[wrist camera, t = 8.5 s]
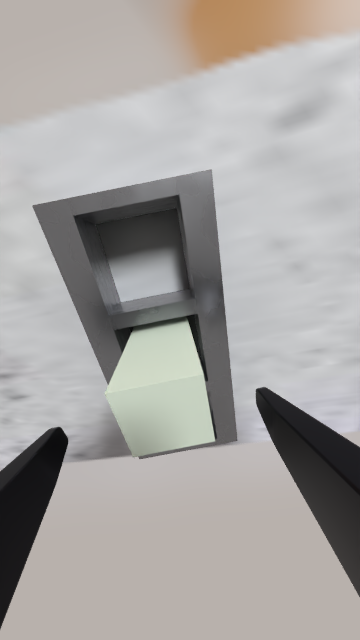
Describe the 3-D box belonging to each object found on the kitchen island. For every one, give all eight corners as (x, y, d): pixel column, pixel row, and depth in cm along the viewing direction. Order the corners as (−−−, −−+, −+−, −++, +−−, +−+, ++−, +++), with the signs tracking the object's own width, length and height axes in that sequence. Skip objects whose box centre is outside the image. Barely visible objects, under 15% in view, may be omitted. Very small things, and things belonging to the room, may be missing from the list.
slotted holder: (227, 412, 19) (237, 440, 16) (143, 428, 19) (139, 459, 16) (200, 189, 11) (211, 169, 9) (65, 216, 12) (32, 205, 9)
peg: (185, 310, 14) (203, 374, 7) (193, 352, 16) (215, 441, 8) (136, 320, 14) (104, 394, 7) (149, 361, 16) (133, 457, 8)
